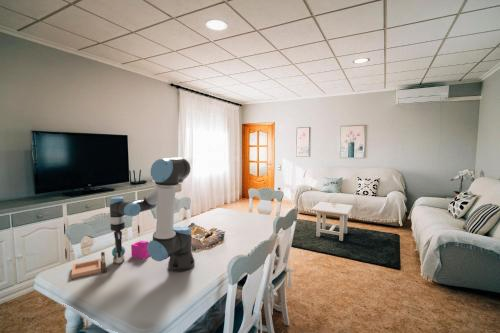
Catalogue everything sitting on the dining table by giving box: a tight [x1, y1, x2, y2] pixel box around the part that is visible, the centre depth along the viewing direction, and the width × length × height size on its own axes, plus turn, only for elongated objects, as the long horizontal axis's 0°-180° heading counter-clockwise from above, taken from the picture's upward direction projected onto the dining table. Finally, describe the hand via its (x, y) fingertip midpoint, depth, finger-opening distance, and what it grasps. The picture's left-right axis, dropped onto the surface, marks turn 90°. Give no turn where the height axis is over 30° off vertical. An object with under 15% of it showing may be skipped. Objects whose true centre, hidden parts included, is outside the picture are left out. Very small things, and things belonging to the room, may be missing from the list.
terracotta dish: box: [71, 258, 102, 280], centre depth 137 cm, size 13×13×2 cm
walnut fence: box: [100, 251, 107, 274], centre depth 142 cm, size 18×2×5 cm, turn 33°
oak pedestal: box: [112, 254, 125, 265], centre depth 147 cm, size 6×6×3 cm
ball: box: [111, 246, 126, 258], centre depth 147 cm, size 7×7×7 cm
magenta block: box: [130, 240, 151, 260], centre depth 159 cm, size 12×10×10 cm
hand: (118, 259), depth 147 cm, fingers closed on ball, 7 cm apart
